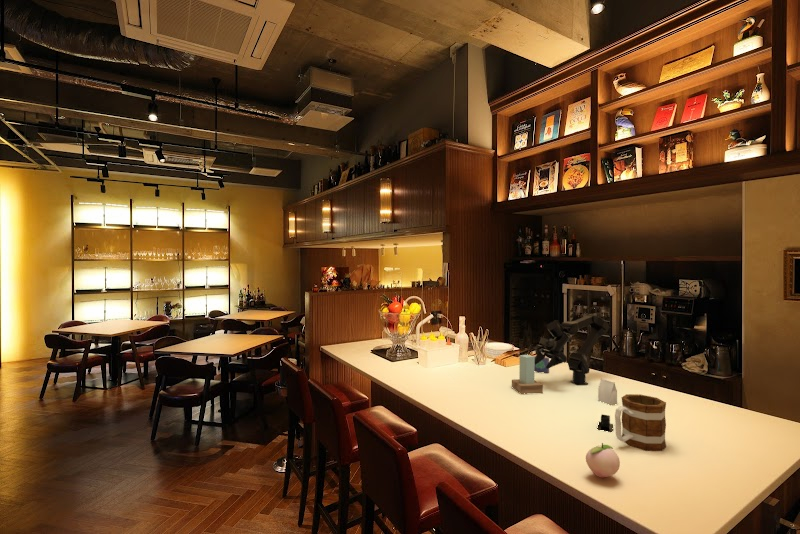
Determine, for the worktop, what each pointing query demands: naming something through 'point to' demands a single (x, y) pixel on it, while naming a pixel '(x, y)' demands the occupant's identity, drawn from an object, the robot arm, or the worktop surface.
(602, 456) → the decorative fruit
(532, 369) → the tall block
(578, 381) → the robot arm
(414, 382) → the worktop surface
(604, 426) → the black flanged block
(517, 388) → the base brick
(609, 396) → the paper bag
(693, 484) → the worktop surface
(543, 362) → the flask
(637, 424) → the mug
